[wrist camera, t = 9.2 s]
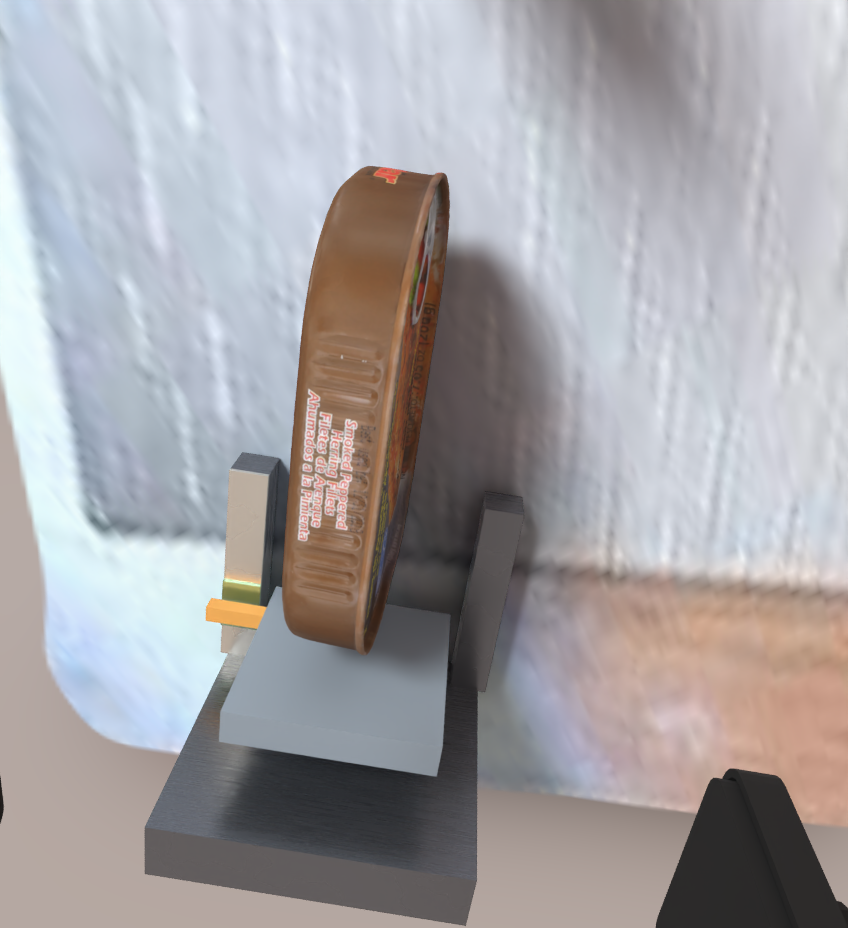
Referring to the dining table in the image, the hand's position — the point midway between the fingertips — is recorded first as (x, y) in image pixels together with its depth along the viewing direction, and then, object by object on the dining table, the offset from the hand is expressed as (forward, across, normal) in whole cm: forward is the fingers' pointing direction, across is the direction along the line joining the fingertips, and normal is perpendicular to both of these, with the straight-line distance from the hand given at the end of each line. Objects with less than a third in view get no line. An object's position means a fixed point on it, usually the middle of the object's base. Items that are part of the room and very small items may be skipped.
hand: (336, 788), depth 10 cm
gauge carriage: (+18, +3, +10) cm, 20 cm away
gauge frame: (+19, +2, +9) cm, 21 cm away
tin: (+19, +2, +1) cm, 19 cm away
